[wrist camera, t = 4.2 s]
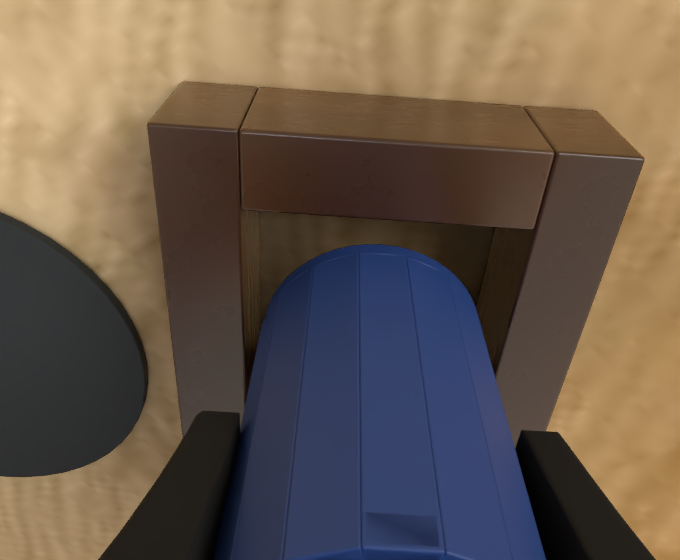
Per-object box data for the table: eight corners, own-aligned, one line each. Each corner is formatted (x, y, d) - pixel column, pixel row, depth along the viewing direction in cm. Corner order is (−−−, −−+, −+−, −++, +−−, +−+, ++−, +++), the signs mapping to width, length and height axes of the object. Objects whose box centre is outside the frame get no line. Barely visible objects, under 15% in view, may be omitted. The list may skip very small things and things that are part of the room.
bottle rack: (598, 110, 13) (647, 158, 11) (463, 550, 22) (475, 625, 20) (181, 80, 13) (145, 122, 11) (217, 536, 22) (201, 609, 19)
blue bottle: (458, 416, 14) (555, 932, 7) (264, 404, 14) (178, 915, 7) (498, 251, 12) (706, 797, 5) (263, 235, 12) (128, 768, 5)
